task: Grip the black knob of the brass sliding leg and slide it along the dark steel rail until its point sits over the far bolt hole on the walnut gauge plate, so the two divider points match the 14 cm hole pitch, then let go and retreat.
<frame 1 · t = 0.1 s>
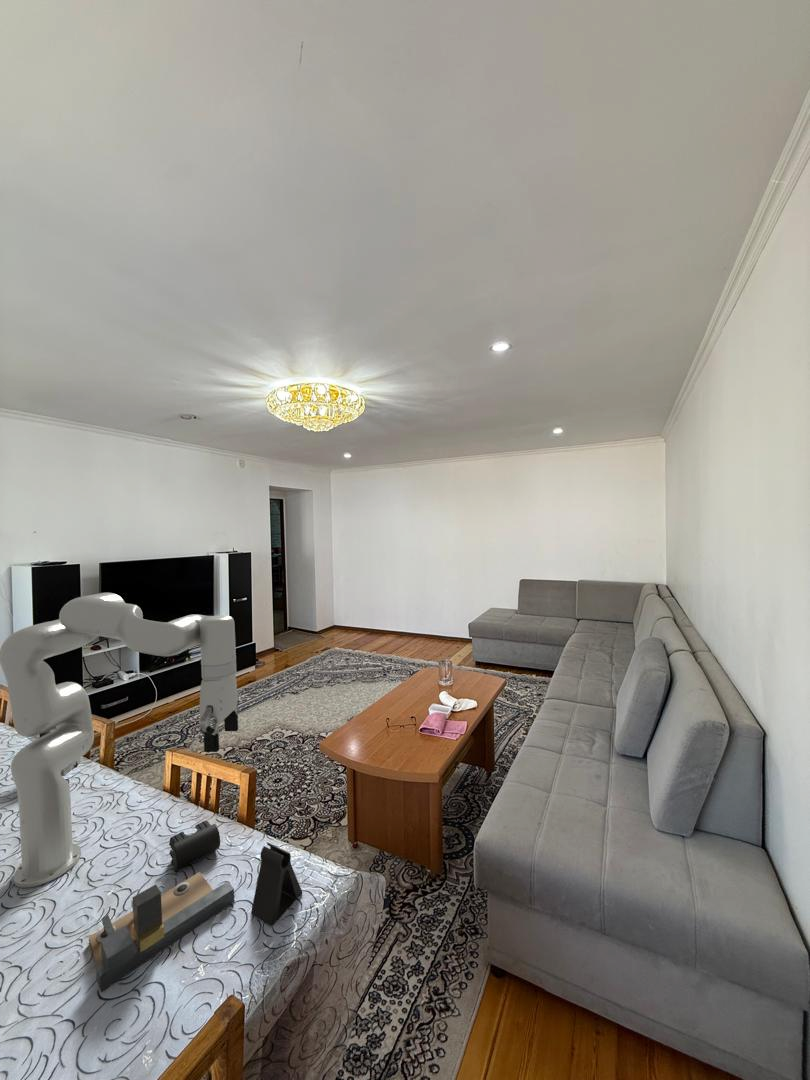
hand: (222, 740, 100), 31 cm above the table, tool pointing down, fingers open, 9 cm apart
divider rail: (172, 937, 84), on the table
black triangular stand: (277, 905, 91), on the table
gauge plate: (155, 919, 88), on the table
sliding leg: (142, 907, 83), point 7 cm above the table, slide at 5.0 cm
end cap: (195, 860, 104), on the table
coffee box: (61, 776, 143), on the table
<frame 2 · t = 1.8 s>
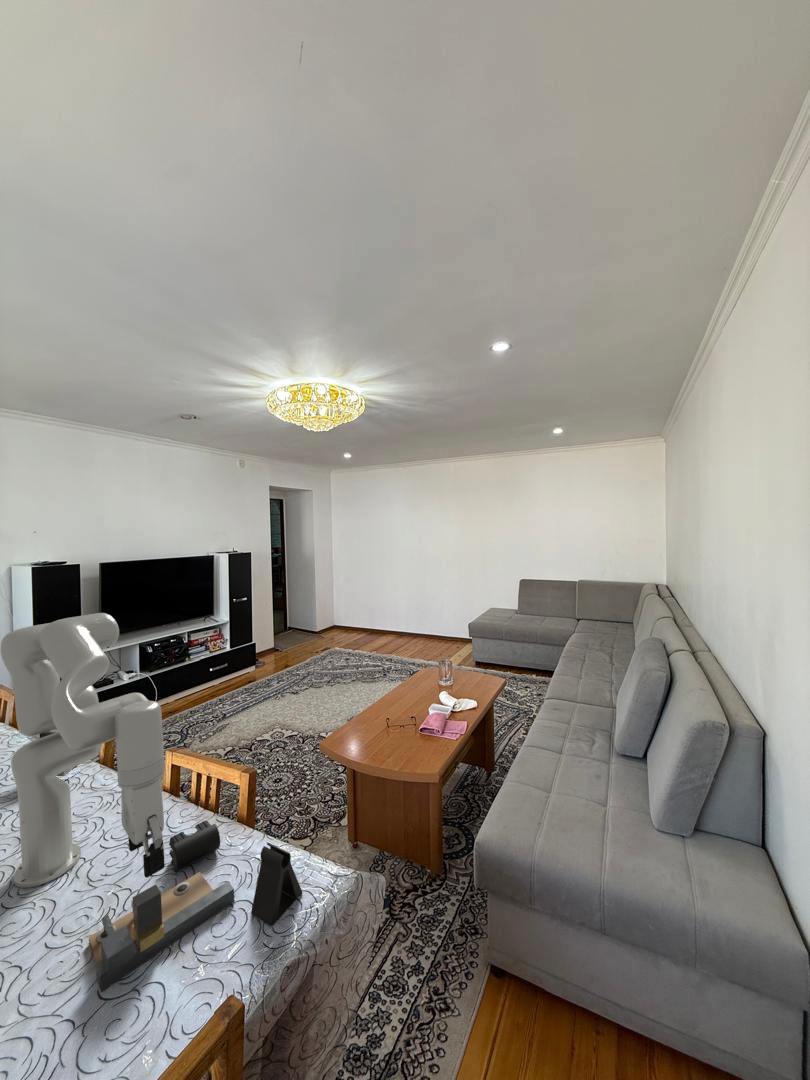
hand: (146, 859, 80), 18 cm above the table, tool pointing down, fingers open, 9 cm apart
nothing on the table moved.
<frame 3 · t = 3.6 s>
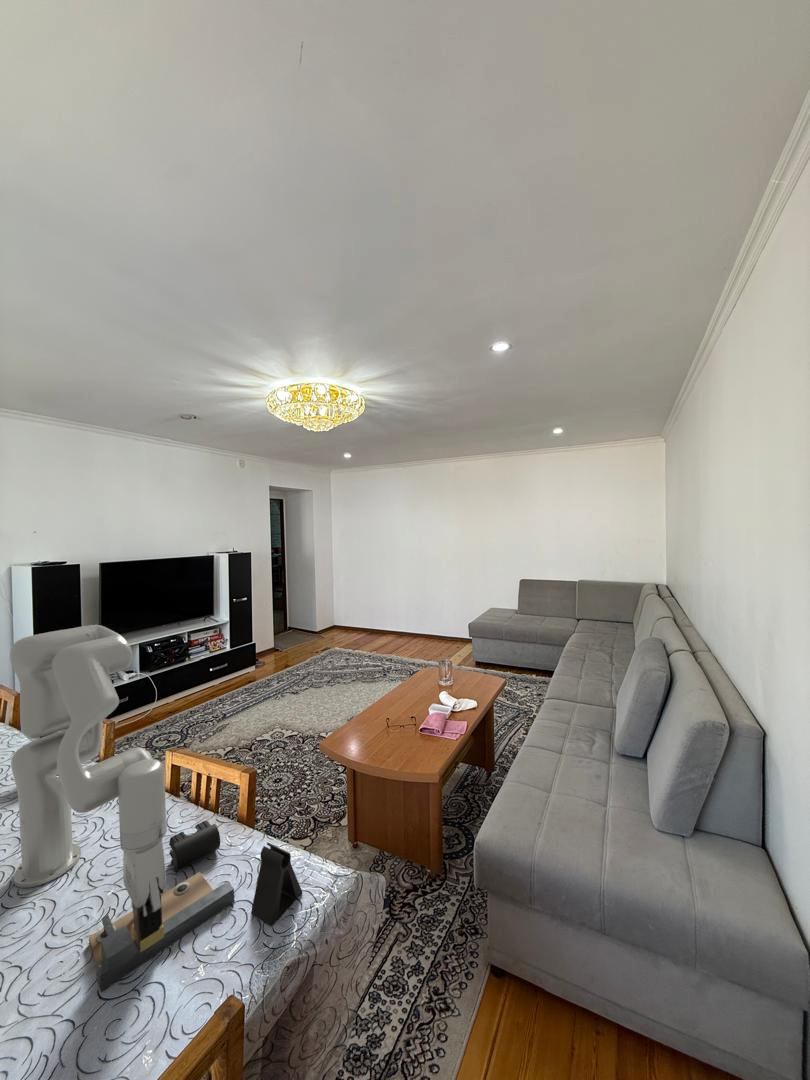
hand: (148, 923, 81), 6 cm above the table, tool pointing down, fingers closed on sliding leg, 3 cm apart
sliding leg: (142, 907, 83), point 7 cm above the table, slide at 5.0 cm, touching gripper
everything else where it was.
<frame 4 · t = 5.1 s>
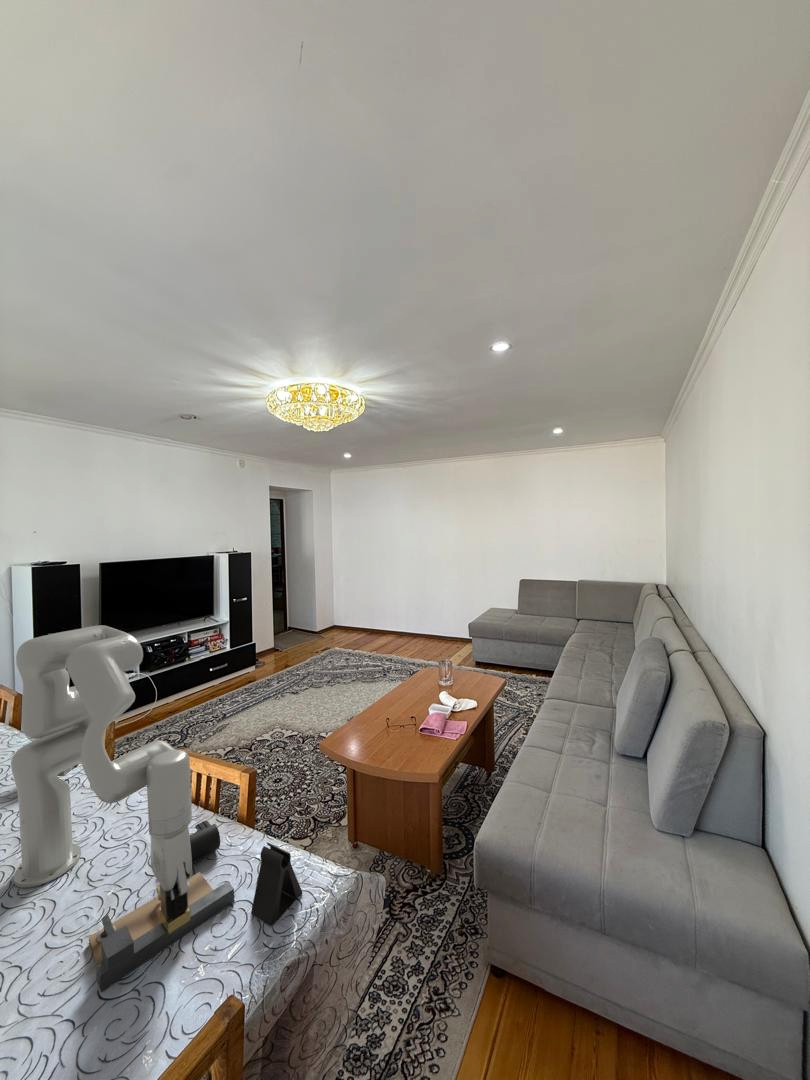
hand: (174, 907, 84), 6 cm above the table, tool pointing down, fingers closed on sliding leg, 3 cm apart
sliding leg: (168, 892, 86), point 7 cm above the table, slide at 9.7 cm, touching gripper
everything else where it was.
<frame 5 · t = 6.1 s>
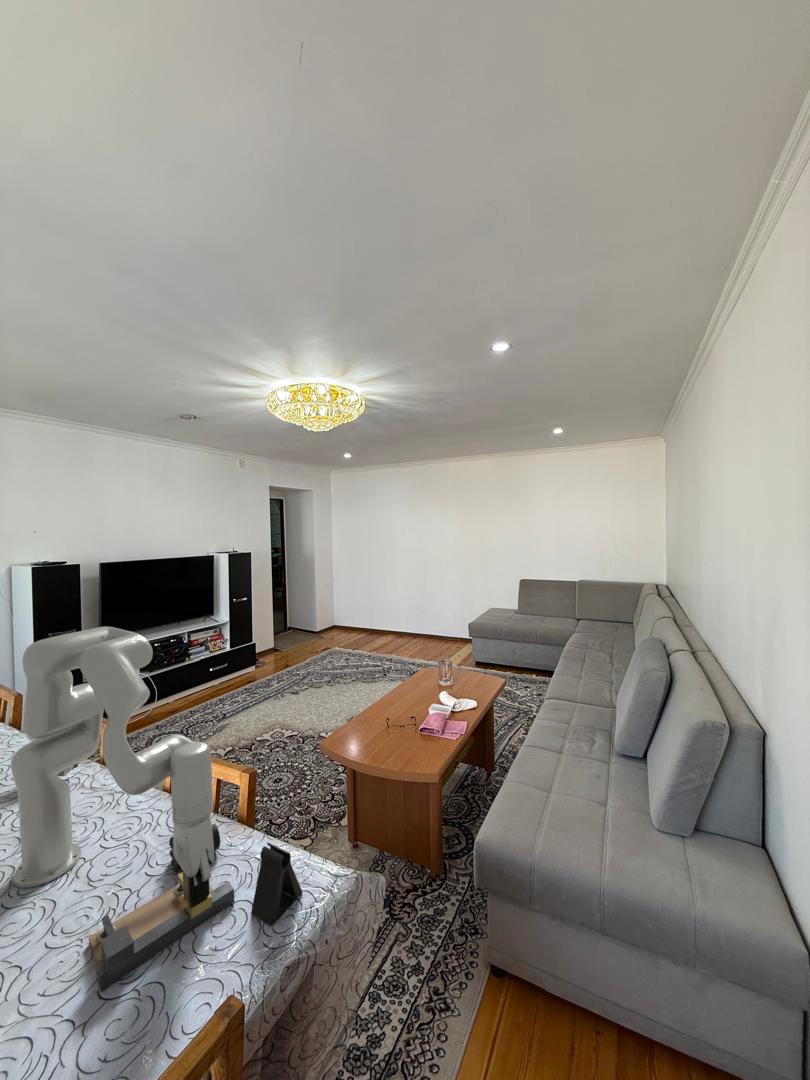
hand: (196, 893, 87), 6 cm above the table, tool pointing down, fingers closed on sliding leg, 3 cm apart
sliding leg: (190, 879, 90), point 7 cm above the table, slide at 13.9 cm, touching gripper
everything else where it was.
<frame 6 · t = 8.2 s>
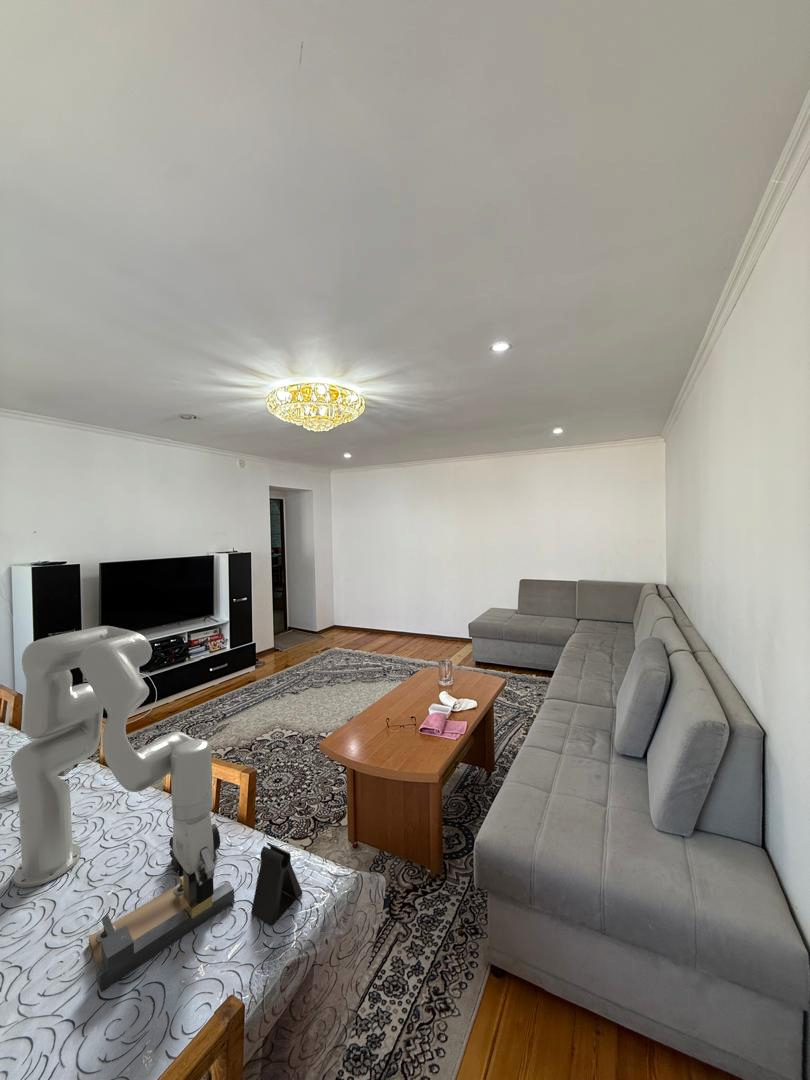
hand: (195, 885, 87), 7 cm above the table, tool pointing down, fingers open, 9 cm apart
sliding leg: (190, 879, 90), point 7 cm above the table, slide at 14.0 cm
everything else where it was.
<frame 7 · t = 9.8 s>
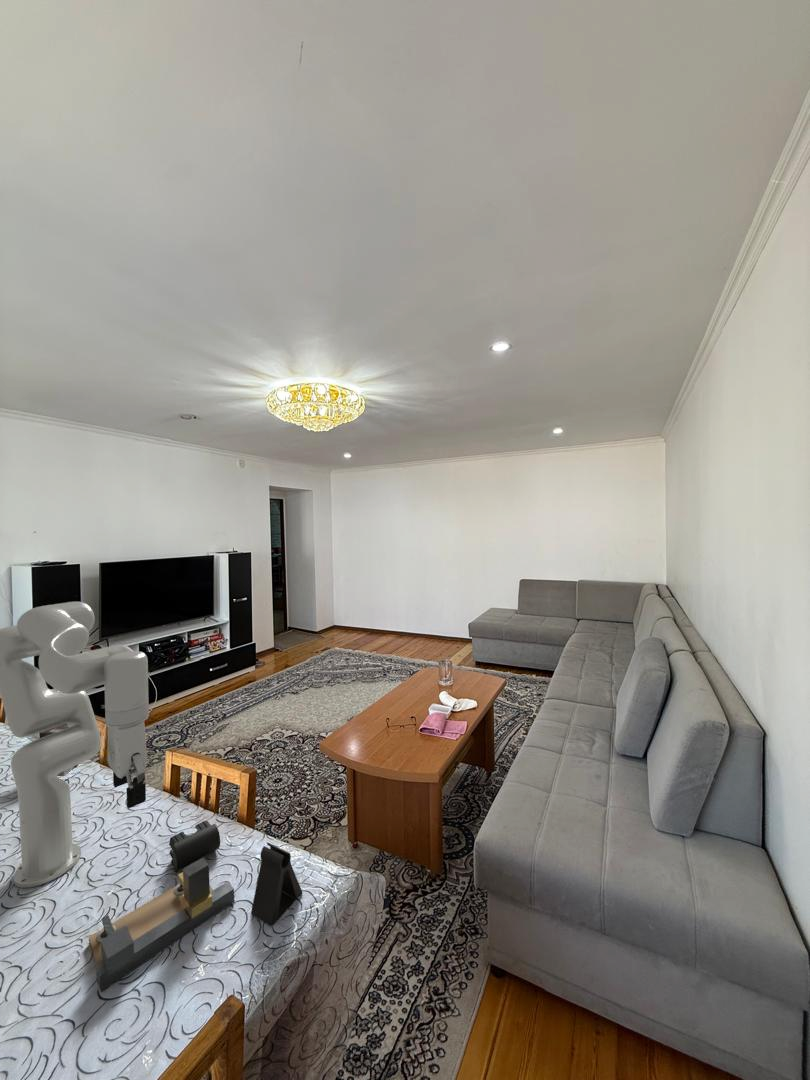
hand: (129, 793, 88), 26 cm above the table, tool pointing down, fingers open, 9 cm apart
nothing on the table moved.
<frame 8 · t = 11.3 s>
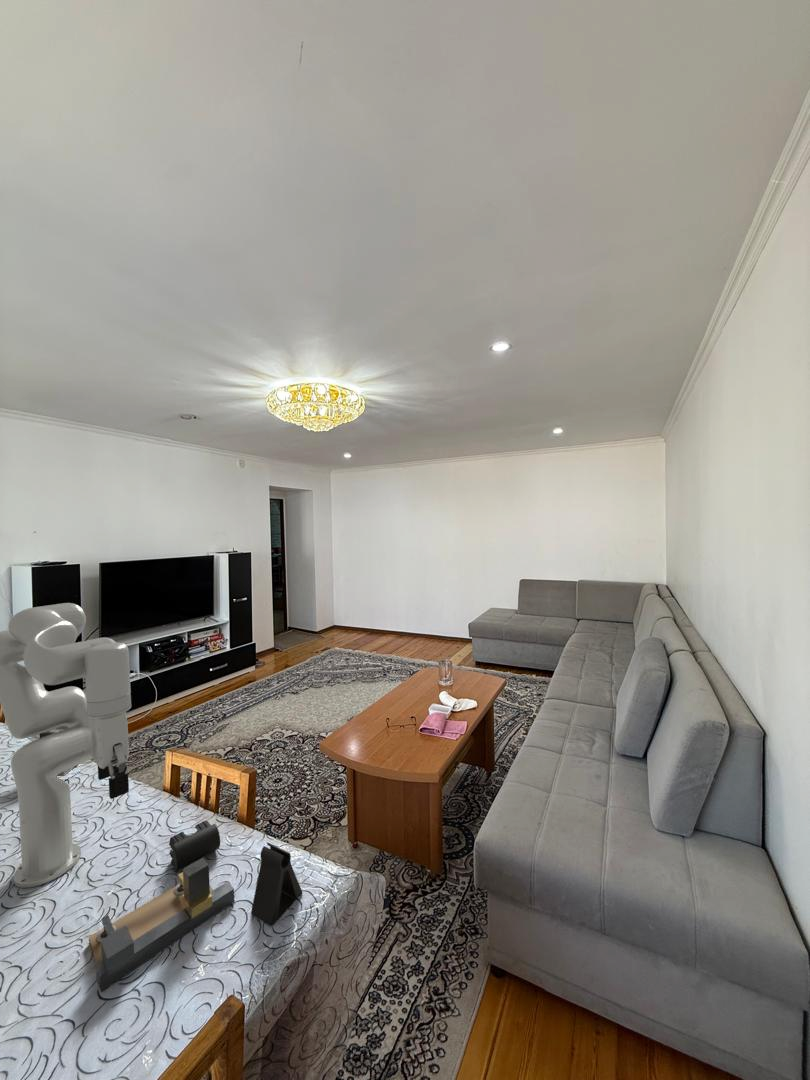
hand: (113, 785, 88), 28 cm above the table, tool pointing down, fingers open, 9 cm apart
nothing on the table moved.
at the end: sliding leg slide at 14.0 cm; the gripper is holding nothing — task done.
